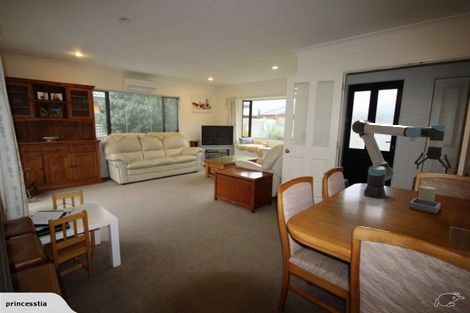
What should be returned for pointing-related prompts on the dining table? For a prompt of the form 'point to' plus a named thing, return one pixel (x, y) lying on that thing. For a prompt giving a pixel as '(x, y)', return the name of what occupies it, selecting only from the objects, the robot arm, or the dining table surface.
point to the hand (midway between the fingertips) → (430, 175)
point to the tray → (424, 205)
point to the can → (427, 193)
